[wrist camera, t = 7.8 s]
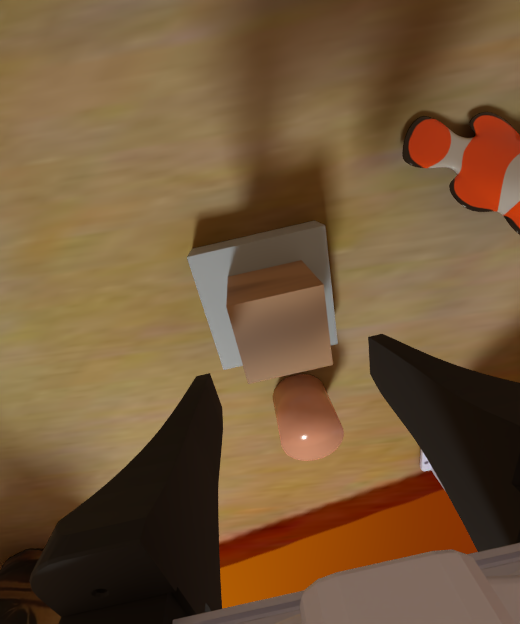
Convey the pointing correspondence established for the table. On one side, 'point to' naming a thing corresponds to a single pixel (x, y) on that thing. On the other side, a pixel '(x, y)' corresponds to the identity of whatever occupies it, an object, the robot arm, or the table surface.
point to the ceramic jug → (22, 592)
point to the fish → (472, 162)
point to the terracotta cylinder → (306, 418)
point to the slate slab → (249, 257)
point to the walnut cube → (279, 321)
